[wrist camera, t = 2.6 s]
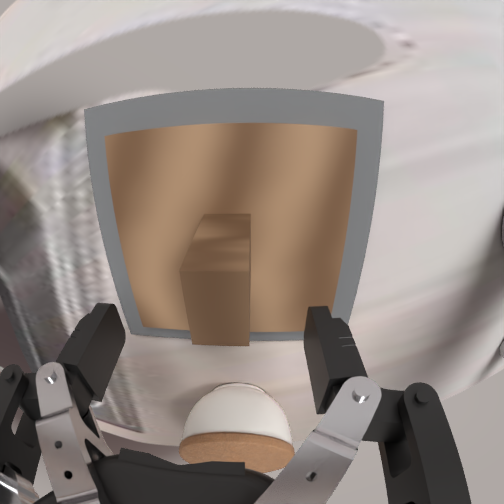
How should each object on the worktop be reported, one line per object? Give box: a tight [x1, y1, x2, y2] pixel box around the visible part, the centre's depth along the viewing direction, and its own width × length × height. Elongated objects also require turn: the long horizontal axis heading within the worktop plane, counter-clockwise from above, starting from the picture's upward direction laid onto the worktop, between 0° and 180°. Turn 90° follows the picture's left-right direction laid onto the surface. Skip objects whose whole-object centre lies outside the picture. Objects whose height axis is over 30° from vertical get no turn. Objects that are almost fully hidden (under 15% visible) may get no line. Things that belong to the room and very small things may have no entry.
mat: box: [84, 88, 384, 341], centre depth 18 cm, size 18×18×1 cm
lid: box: [104, 123, 357, 346], centre depth 14 cm, size 14×14×7 cm
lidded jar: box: [179, 383, 295, 473], centre depth 23 cm, size 11×11×9 cm
